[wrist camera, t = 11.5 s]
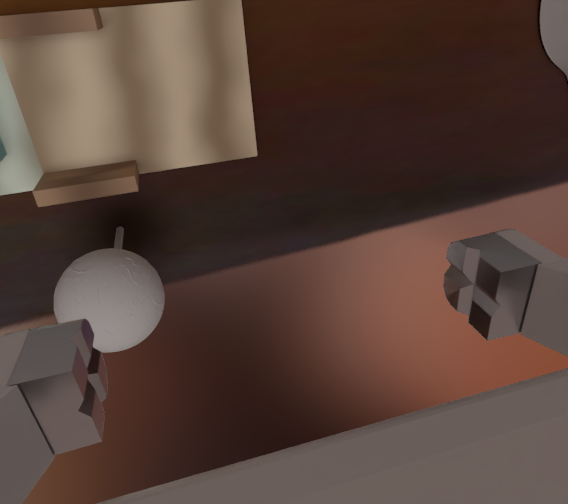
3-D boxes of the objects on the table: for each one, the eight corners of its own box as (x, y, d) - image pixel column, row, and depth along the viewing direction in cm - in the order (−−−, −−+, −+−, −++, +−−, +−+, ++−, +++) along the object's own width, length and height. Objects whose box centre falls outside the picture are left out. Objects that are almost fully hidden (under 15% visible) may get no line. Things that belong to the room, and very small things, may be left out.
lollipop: (114, 276, 42) (99, 391, 30) (58, 222, 39) (15, 327, 26) (176, 236, 42) (188, 335, 29) (126, 177, 38) (115, 261, 26)
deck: (236, -3, 34) (251, -5, 29) (252, 149, 40) (268, 170, 35) (-321, 42, 27) (-427, 50, 22) (-201, 217, 33) (-263, 255, 28)
